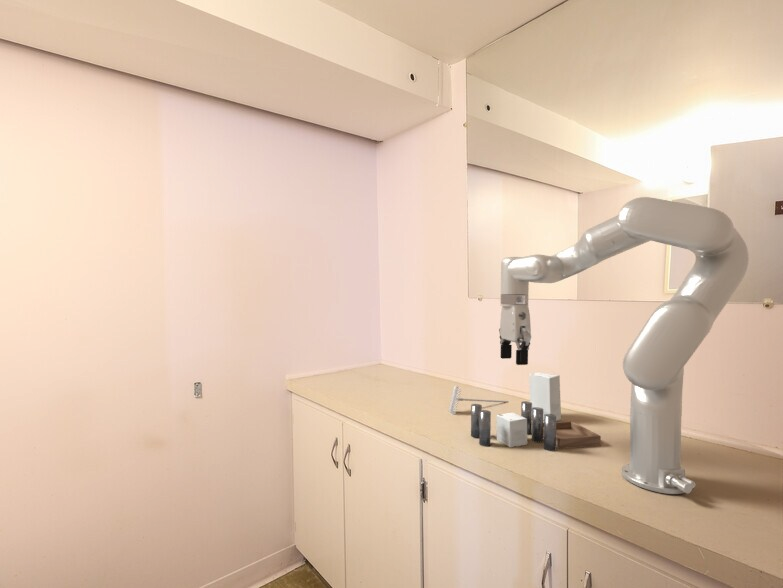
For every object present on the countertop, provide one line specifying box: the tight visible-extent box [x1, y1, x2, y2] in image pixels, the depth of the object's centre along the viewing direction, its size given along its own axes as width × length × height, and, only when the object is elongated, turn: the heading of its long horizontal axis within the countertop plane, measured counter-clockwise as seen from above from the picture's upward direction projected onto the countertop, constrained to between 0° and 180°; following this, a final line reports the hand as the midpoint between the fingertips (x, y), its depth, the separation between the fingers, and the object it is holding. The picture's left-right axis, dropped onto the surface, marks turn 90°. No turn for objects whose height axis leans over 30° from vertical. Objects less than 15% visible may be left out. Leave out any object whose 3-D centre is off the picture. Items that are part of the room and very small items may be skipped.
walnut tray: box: [543, 420, 602, 449], centre depth 112 cm, size 13×13×3 cm
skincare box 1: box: [496, 412, 528, 448], centre depth 109 cm, size 6×6×7 cm
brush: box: [447, 385, 509, 415], centre depth 141 cm, size 4×28×9 cm, turn 118°
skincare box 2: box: [528, 371, 562, 422], centre depth 130 cm, size 8×6×15 cm
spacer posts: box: [470, 400, 557, 452], centre depth 109 cm, size 15×19×9 cm
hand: (513, 361), depth 110 cm, fingers open, 9 cm apart
